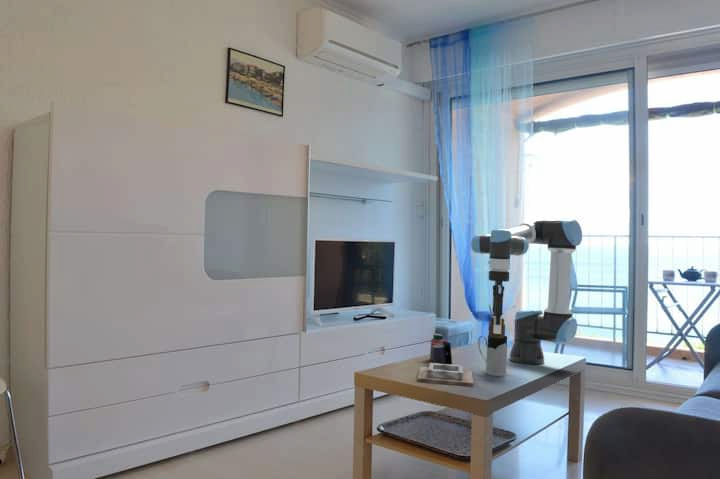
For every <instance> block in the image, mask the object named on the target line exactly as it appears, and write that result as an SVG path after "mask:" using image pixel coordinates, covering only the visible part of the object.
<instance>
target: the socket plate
mask: <svg viewBox="0 0 720 479" xmlns="http://www.w3.org/2000/svg"><path fill="white" fill-rule="evenodd" d="M417 382H420V383H431V384H441V385H452V386H453V385H455V386H463V387H466V386H467V387H474V379H473V373H472V370H467V369H463V365H458V364H452V365H448V364H437V363H433V362H429V366H420V367H419V372H418V375H417Z"/></svg>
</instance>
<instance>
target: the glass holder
mask: <svg viewBox="0 0 720 479" xmlns="http://www.w3.org/2000/svg"><path fill="white" fill-rule="evenodd" d="M482 337H483V338H484V340H485V346H486V357H485V356H484V354H483V352H482V349H481V346H480V345H481V344H480V340H481V338H482ZM477 346H478V350H479V354H480V355H481V357H482V359H483V360H484V361H485V370H484V373H485V374H487V375H489V376H497V377H506V376H507V375H508V373H507V363H508V362H507V358H508V357H507V356H508V336H506V335H505V337H504V338H492V337H489V334H488V335H487V337H486V336H485V335H480V336H479V337H478V340H477Z"/></svg>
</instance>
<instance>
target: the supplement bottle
mask: <svg viewBox="0 0 720 479" xmlns="http://www.w3.org/2000/svg"><path fill="white" fill-rule="evenodd" d="M443 340H444V337H443V334H441V333H433V338H431V340H430V353H429V359H430V360H431V361H433V352H432V346H433V345H435V344H443Z"/></svg>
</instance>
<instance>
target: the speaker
mask: <svg viewBox="0 0 720 479" xmlns="http://www.w3.org/2000/svg"><path fill="white" fill-rule="evenodd" d="M432 352H433V360H432V361H433V362H432V363H437V364H448V365H453V361H452V359H453V358H452V346H451V342H449V341H446V340H444V339H443V344H435V345H433V346H432Z"/></svg>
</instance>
